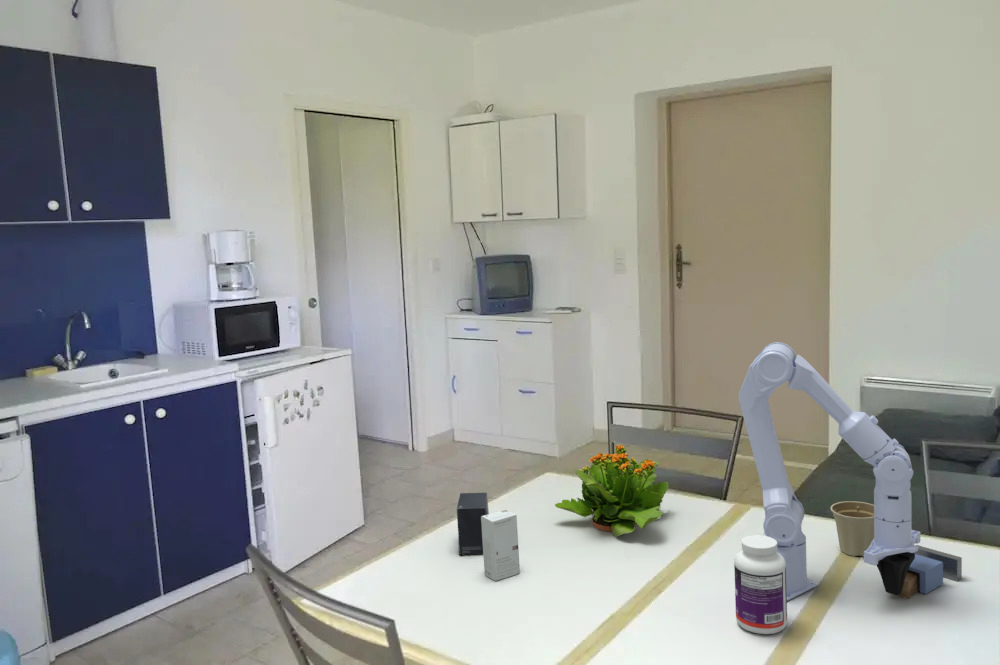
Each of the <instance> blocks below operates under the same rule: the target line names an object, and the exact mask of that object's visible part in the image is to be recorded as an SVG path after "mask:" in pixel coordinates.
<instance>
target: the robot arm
mask: <svg viewBox="0 0 1000 665" xmlns="http://www.w3.org/2000/svg"><path fill="white" fill-rule="evenodd" d="M787 382H788V385H787V387H786V388H787V389H792V390H797V391H803V392H805V393H806V394H807V395H808V396H809V397H810V398H812V400H813V401H815V403H816V404H818V406H820V407H821V408H822V409H823V410H824V411H825V412H826V413H827V414H828V415H829V416H830V417H831V418H833V419H834V420H835V421H836V422H837V424H838V429H837V430H838V435H839V436H840V437H841V438H842V439H843V440H844V441H845V442H846V444H848V445H849V447H850V448H851V449H852V450H853V451H854V452H855V453H856V454H857V455H858V456H859V457H860V458H861V459H862V460H863V461H864V463H865V462H866V463H868V464H869V465H871V466H872V467H873V469H872V472H873V475H874V477H875V487H874V489H873V505H874V539H873V540H872V542H871V544H870V546H869V548H868V549H867V550H866V551H864V557H863V563H865V564H868V565H871V566H874V567H875V566H876V567H877V569H878V571H879V575H880V577H881V580H882V584H883V587H884V591H885V592H886V593H888V594H890V595H893V596H897V595H899V594H900V593H901V591H902V588H903V584H904V580H905V577H906V574H907V571H908V569H909V567H910V565H911V563H912V562H913V560H914V559H915V554H914V552H916V551H918V546H916V545H919V544H920V543H921V531H918V530H914V529H912V515H913V513H912V491H911V490H910V489H911V485H912V484H911V480H912V479H913V476H914V470H913V467H912V462H911V457H910V455H909V454H908V452H907V451H906V449H905V446H904V445H901V444H900V443H899V441H898V440H897V439H896V438H891V437H890V436H889V435H888V434H887V433H886V432H885V431H884V430H883V429H882V428H881V427H880V426H879V425H878V424H879V420H878V418H876V417H875V416H874V415H873V414H872V415H871V416H869V415H868V413H866V412H864V411H856V410H853V409H852V408H851V407H850V406H849V405H848V404H847V403H846V402H845V401H844V399H843V398H842V397H841V396H840V395H839V394H838V393H837V391H835V390H834V388H833V387H832V386H831V385H830V384H829V382H827V381H826V380H825V378H823V376H822V375H821V374H820V373H819V372H818V371H817V370H816V369H815V368H814V367H813V366H812V365H811V364H810V363H809V362H808V361H807V360H806V359H805V358H804V357H803V356H802V355H800V354H796V352H795V351H794V349H793V348H792V347H791V346H790V345H788V344H786V343H784V342H780V341H777V342H776V341H775V342H772V343H769V344H767V345H766V346H764V348H763V349H762V350H761V351H760V352H759V353H758V354H757V356H755V358H754V360H753V362H751V363H750V365H749V367H748V370H747V372H746V375H745V377H744V380H743V383H742V385H741V388H740V389H739V392H738V401H739V405H740V410H741V412H742V418H743V421H744V424H745V429H746V432H747V437H748V441H749V444H750V449H751V451H752V455H753V459H754V463H755V466H756V470H757V471H756V472H757V475H758V479H759V481H760V486H761V490H762V500H763V501H762V502H763V510H764V515H765V516H764V521H763V532H764V533H763V536H768V537H771V538H773V539H775V540H776V541H777V553H779V554H780V555H781V556H782V557H783V558H784V560H785V562H786V595H787V601H790V600H792V599H794V598H796V597H798V596H799V595H802V594H804V593H805V592H808V591H809V590H812V589H813V588H815V587H817V586H818V582H816V581H813V580H810V579H808V578H807V577H808V576H807V574H808V573H807V571H808V570H807V566H808V565H807V537H806V535H805V534H804V532H803V531H802V526H803V525H802V524H803V520H804V518H805V509H804V506H803V504H802V503H801V501H799V500H798V499H797V496H796V494H795V493H794V489H793V487H792V485H791V483H790V481H789V477H788V472H787V468H786V465H785V462H784V458H783V455H782V454H783V453H782V450H781V446H780V442H779V438H778V435H777V430H776V427H775V423H774V422H775V421H774V420H773V415H772V411H771V406H770V404H769V399H770V398H771V396H772V395H773V394H774V392H775V390H776V389H778V388H779V387H781V386H783V385H784V384H785V383H787Z"/></svg>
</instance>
